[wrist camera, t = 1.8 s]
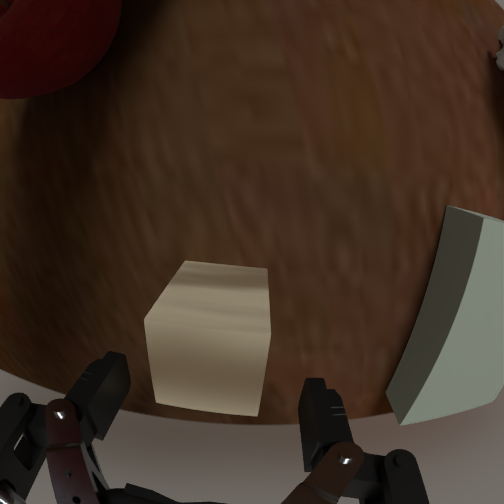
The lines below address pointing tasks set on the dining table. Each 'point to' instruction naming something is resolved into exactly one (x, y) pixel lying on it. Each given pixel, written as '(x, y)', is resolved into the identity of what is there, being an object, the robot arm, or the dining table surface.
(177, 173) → the dining table surface
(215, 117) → the dining table surface
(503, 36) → the bull figurine
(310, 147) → the dining table surface
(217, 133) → the dining table surface
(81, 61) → the apple
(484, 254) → the plinth
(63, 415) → the robot arm
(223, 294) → the maple block
